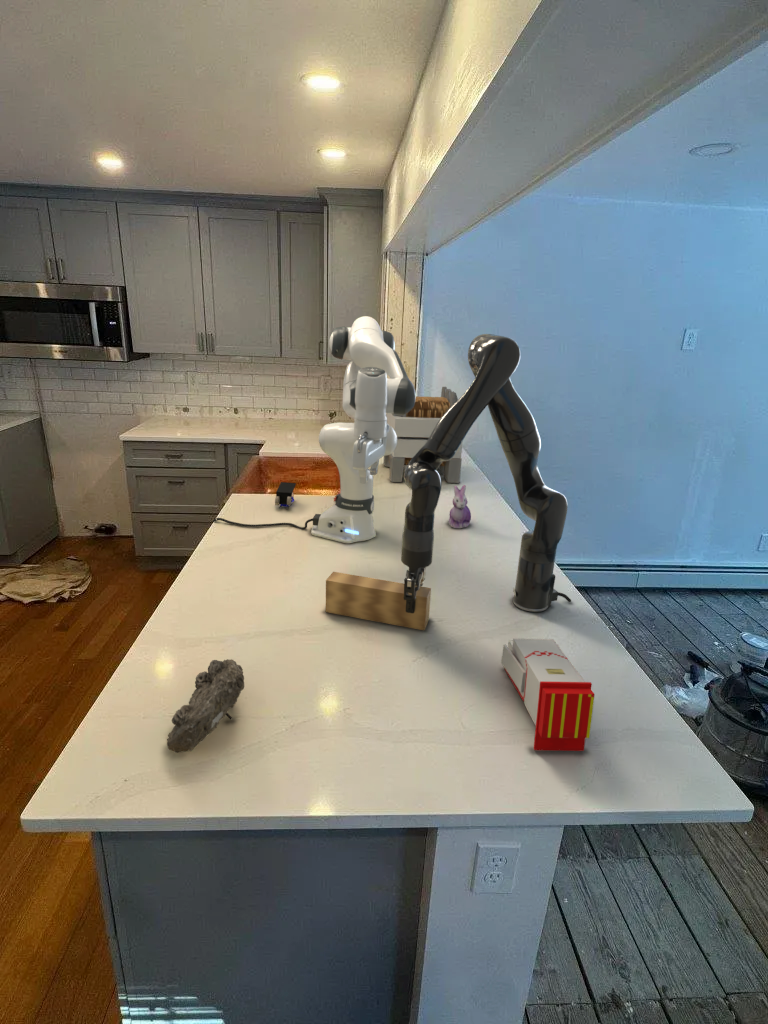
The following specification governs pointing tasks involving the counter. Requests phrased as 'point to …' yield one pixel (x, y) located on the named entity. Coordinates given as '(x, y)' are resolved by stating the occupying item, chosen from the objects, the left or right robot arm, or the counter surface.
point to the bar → (375, 600)
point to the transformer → (421, 435)
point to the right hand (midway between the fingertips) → (413, 605)
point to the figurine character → (285, 494)
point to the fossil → (206, 705)
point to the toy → (550, 693)
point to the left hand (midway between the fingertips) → (368, 478)
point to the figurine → (459, 509)
